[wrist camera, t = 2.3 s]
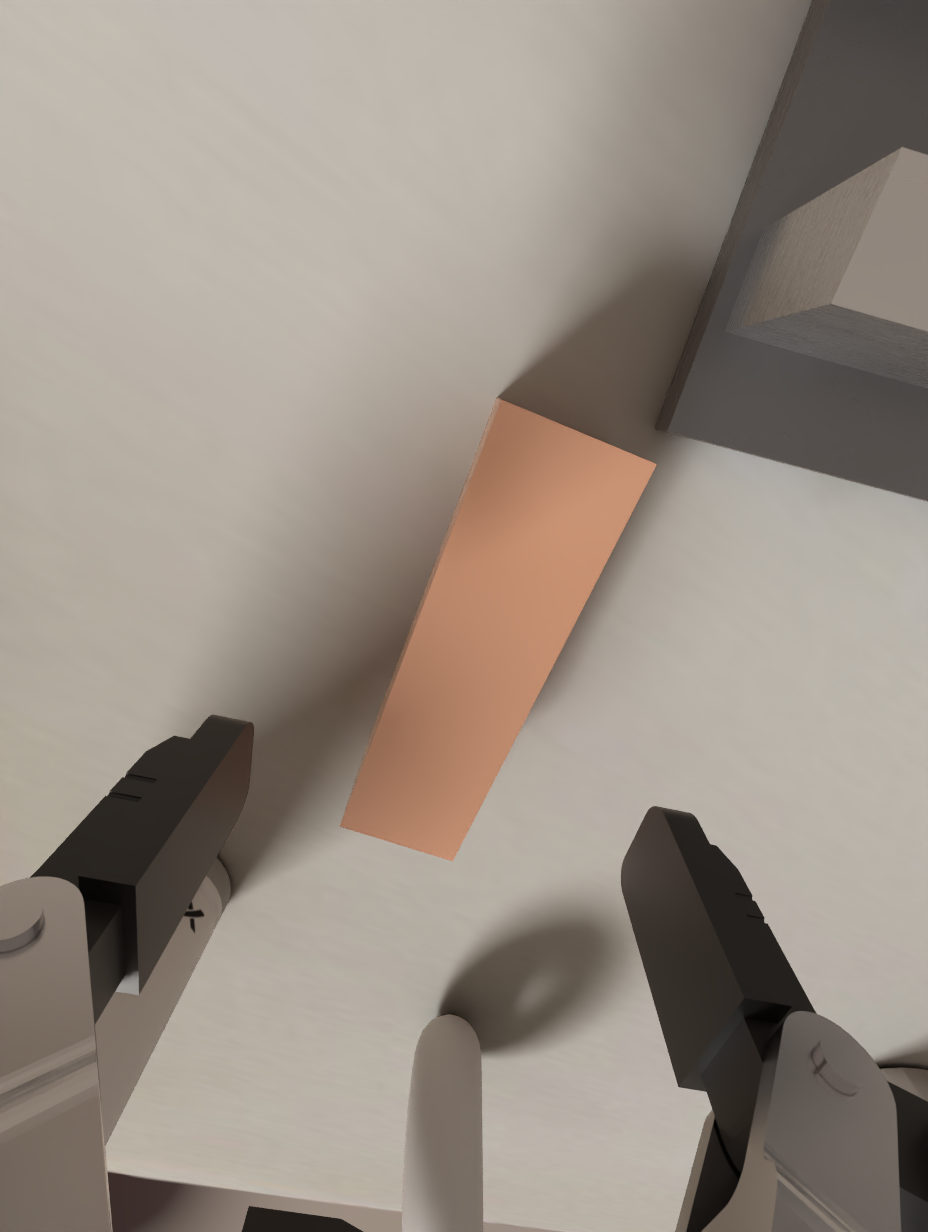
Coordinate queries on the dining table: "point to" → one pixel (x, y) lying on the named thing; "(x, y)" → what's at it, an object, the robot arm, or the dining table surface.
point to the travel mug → (154, 999)
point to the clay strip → (491, 624)
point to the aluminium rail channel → (826, 265)
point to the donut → (444, 1132)
